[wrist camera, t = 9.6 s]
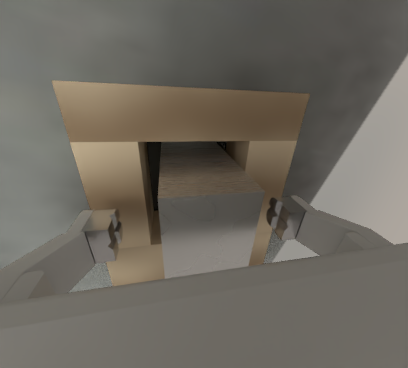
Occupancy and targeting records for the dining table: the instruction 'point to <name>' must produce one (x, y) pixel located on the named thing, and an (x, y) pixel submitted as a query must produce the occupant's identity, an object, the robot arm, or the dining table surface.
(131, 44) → the dining table surface
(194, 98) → the oak well block
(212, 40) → the dining table surface
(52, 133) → the dining table surface
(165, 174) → the metal bracket bar
